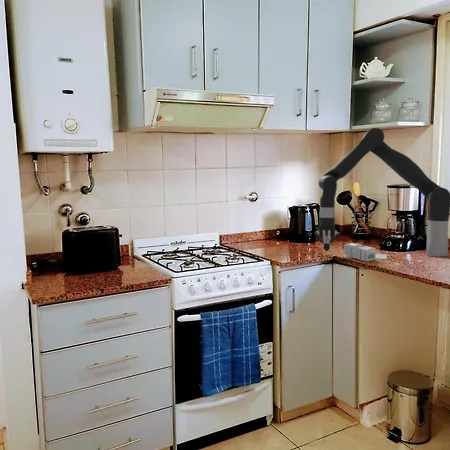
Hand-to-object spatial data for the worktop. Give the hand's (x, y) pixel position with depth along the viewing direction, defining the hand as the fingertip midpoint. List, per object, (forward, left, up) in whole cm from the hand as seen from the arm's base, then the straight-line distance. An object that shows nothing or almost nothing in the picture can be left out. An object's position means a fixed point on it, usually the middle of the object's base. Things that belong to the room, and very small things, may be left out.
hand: (326, 250), depth 235 cm
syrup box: (-10, +2, +2) cm, 11 cm away
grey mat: (-19, 0, -2) cm, 19 cm away
